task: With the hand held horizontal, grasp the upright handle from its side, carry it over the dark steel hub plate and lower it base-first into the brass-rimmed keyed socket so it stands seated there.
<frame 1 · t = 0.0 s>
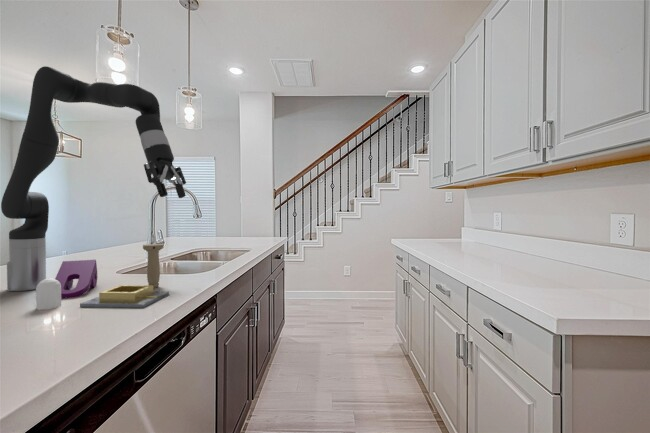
hand: (173, 196, 99), 31 cm above the countertop, tool tilted 20°, fingers open, 8 cm apart
hub plate: (127, 300, 96), on the countertop
capsule: (49, 307, 90), on the countertop
handle: (153, 287, 113), on the countertop
mounting bracket: (75, 293, 106), on the countertop
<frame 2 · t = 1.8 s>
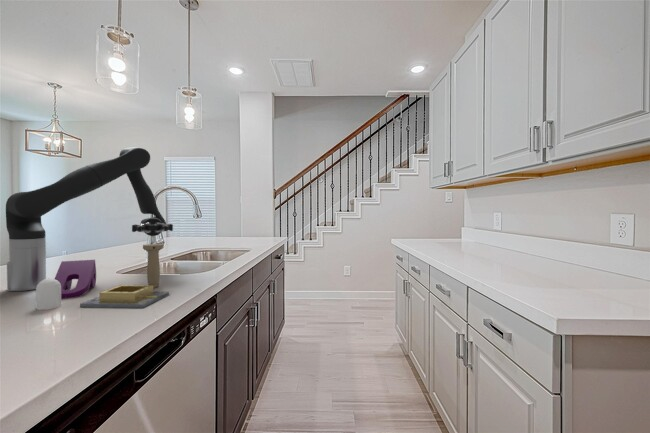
hand: (152, 228, 122), 20 cm above the countertop, tool horizontal, fingers open, 8 cm apart
nothing on the countertop moved.
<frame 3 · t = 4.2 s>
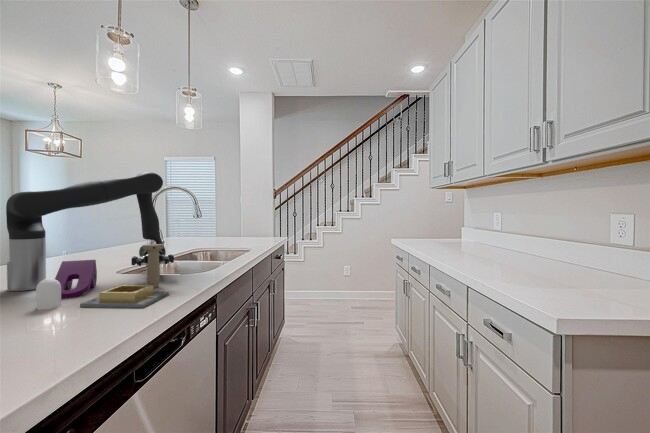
hand: (153, 262, 117), 8 cm above the countertop, tool horizontal, fingers open, 8 cm apart
nothing on the countertop moved.
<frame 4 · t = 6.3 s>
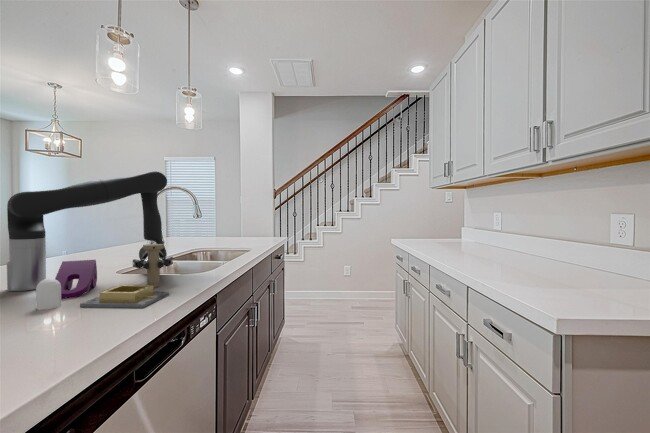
hand: (153, 265, 110), 8 cm above the countertop, tool horizontal, fingers closed on handle, 3 cm apart
handle: (153, 287, 113), on the countertop, touching gripper
everything else where it was.
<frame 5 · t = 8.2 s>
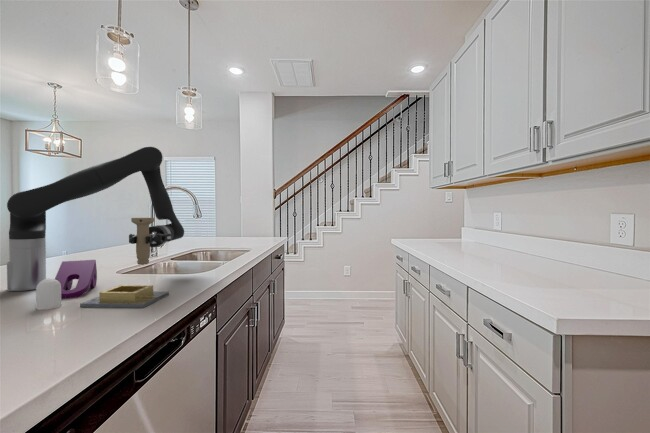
hand: (139, 240, 101), 18 cm above the countertop, tool horizontal, fingers closed on handle, 3 cm apart
handle: (143, 264, 104), point 10 cm above the countertop, touching gripper
everything else where it was.
when the fingers open (10 cm above the countertop, at t = 10.4 s): handle drops 1 cm, resting on hub plate.
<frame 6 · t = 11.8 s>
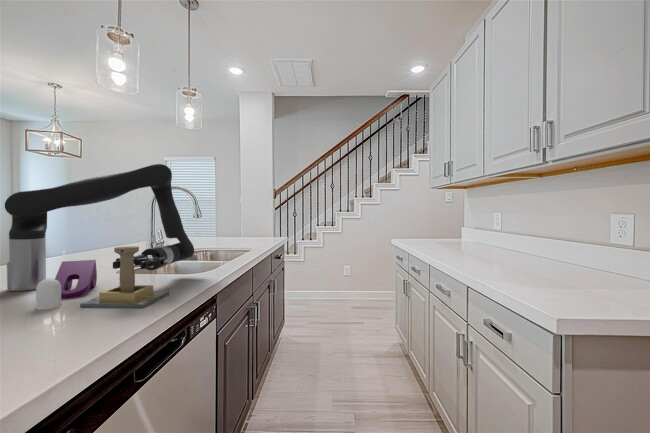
hand: (127, 265, 96), 10 cm above the countertop, tool horizontal, fingers open, 8 cm apart
handle: (127, 297, 96), point 1 cm above the countertop, touching hub plate
everything else where it was.
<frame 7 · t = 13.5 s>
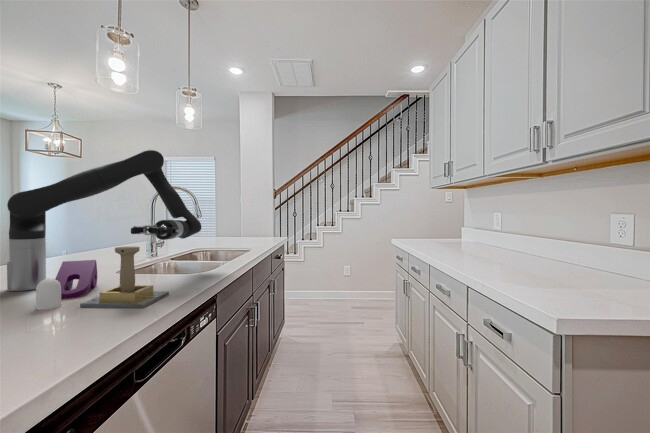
hand: (144, 231, 108), 20 cm above the countertop, tool horizontal, fingers open, 8 cm apart
nothing on the countertop moved.
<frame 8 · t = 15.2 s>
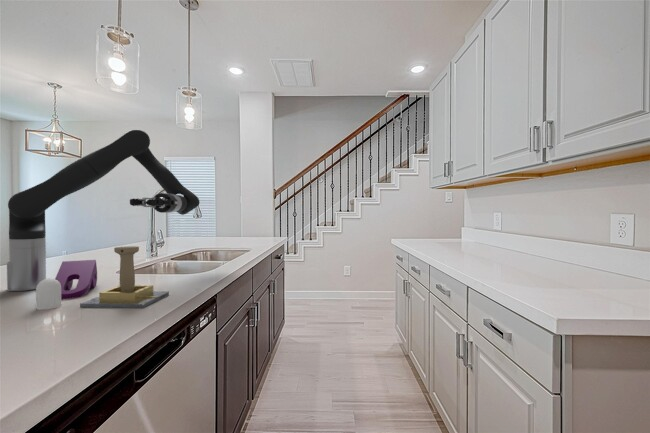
hand: (143, 202, 109), 30 cm above the countertop, tool horizontal, fingers open, 8 cm apart
nothing on the countertop moved.
at the end: handle 0.2 cm off-centre on the hub plate, point 0.8 cm above the hub plate's base; handle tilted 1°; the gripper is holding nothing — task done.
